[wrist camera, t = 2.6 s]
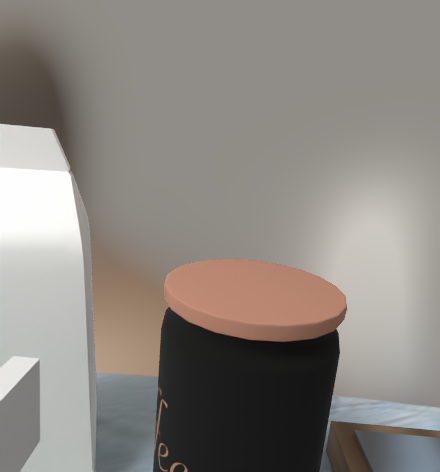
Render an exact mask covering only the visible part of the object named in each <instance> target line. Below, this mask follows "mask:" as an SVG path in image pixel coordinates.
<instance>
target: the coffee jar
mask: <svg viewBox="0 0 440 472" xmlns="http://www.w3.org/2000/svg"><path fill="white" fill-rule="evenodd" d="M164 297H165V299H166V301H167V302H168V304H169V306H170V307H169V308H168V309H167V310H166V312H165V316H164V320H163V324H162V328H161V344H160V362H159V379H158V397H157V415H156V432H155V450H154V468H153V472H319V470H320V464H321V459H322V453H323V447H324V441H325V435H326V430H327V424H328V418H329V412H330V406H331V401H332V395H333V389H334V383H335V377H336V372H337V366H338V360H339V354H340V349H339V336H338V332H337V330H336V328H337V327H338V326H339V325H340V324H341V323H342V321H343V320H344V318H345V314H346V311H347V305H346V298H345V295H344V294H343V293H342V292H341V291H340V290H339V289H338V288H337V287H336V286H335V285H333V284H331V283H330V282H328V281H326V280H324V279H322V278H321V277H318V276H316V275H313V274H311V273H308V272H305V271H303V270H300V269H296V268H292V267H288V266H284V265H280V264H275V263H269V262H263V261H255V260H241V259H213V260H205V261H198V262H192V263H189V264H186V265H183V266H180V267H177V268H176V269H175V270H173V271H172V272H170V273H169V274H168V275H167V278H166V281H165V285H164Z"/></svg>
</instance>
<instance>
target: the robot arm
mask: <svg viewBox="0 0 440 472" xmlns="http://www.w3.org/2000/svg"><path fill="white" fill-rule="evenodd" d="M39 442H40V359H38V358H28V357H19V356H13V357H12V358H10V359H9V360H8V361H7V362H6V363H5V364H4V365H3V366H2V367H1V368H0V472H20V471H21V469H22V468H23V466H24V465H25V463H26V462H27V460H28V459H29V457H30V455H31V454H32V452H33V451H34V449H35V448H36V446H37V445H38V443H39Z"/></svg>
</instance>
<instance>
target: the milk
mask: <svg viewBox="0 0 440 472" xmlns="http://www.w3.org/2000/svg"><path fill="white" fill-rule="evenodd" d="M69 170H70V166H69V163H68V161H67V159H66V157H65V154H64V152H63V149H62V147H61V145H60V143H59V140H58V138H57V135H56V134H55V131H54V129H47V128H37V127H26V126H15V125H5V124H0V368H1V367H2V366H3V365H4V364H5V363H6V362H7V361H8V360H9V359H10V358H12V357H13V356H19V357H28V358H38V359H40V442H39V443H38V445H37V446H36V448H35V449H34V451H33V452H32V454H31V455H30V457H29V459H28V460H27V462H26V463H25V465H24V466H23V468H22V469H21V471H20V472H95V458H96V420H97V393H96V369H95V344H94V320H93V296H92V272H91V250H90V249H91V247H90V228H89V221H88V217H87V213H86V209H85V207H84V204H83V201H82V198H81V195H80V193H79V190H78V187H77V185H76V182H75V179H74V176H73V173H72V172H71V171H69Z"/></svg>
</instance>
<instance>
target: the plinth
mask: <svg viewBox="0 0 440 472" xmlns="http://www.w3.org/2000/svg"><path fill="white" fill-rule="evenodd" d="M326 451H327V454H328V457H329V460H330V463H331V466H332V469H333V472H440V431H435V430H424V429H413V428H402V427H391V426H380V425H369V424H358V423H347V422H336V421H331V425H330V431H329V436H328V442H327V448H326Z"/></svg>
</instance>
